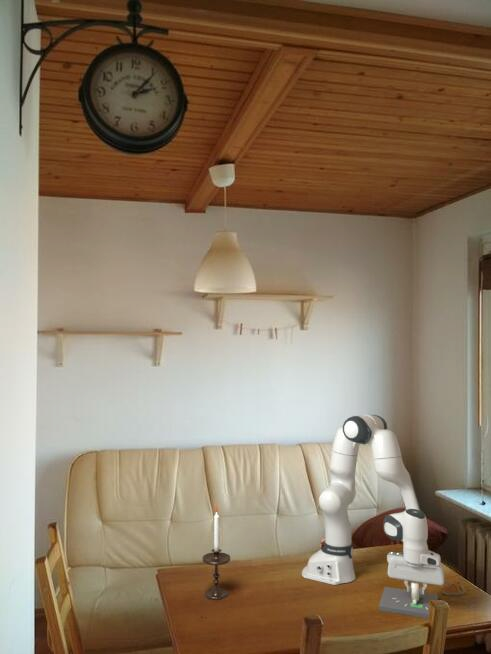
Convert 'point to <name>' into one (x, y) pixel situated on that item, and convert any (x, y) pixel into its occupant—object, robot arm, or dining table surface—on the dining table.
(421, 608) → the dial plate
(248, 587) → the dining table surface
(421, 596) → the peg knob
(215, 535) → the candlestick
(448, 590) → the pastry
